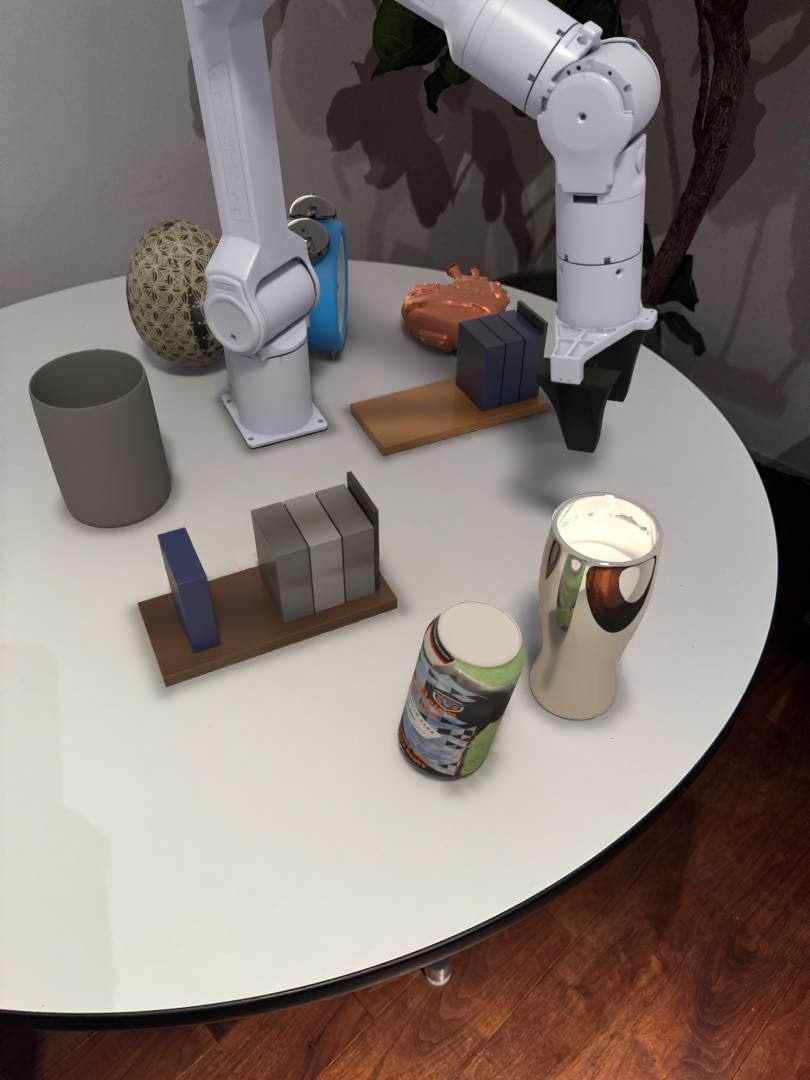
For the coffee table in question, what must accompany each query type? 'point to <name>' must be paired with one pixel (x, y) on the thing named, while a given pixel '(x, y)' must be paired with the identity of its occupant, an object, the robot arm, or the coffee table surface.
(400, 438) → the oak book board
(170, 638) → the walnut book board
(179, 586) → the navy book
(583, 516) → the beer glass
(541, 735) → the coffee table surface
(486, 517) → the coffee table surface
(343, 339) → the alarm clock
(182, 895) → the coffee table surface
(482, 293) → the heart
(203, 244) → the decorative egg
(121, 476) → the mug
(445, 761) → the beverage can
